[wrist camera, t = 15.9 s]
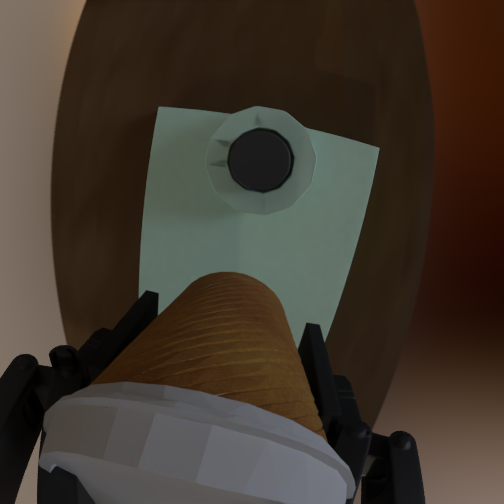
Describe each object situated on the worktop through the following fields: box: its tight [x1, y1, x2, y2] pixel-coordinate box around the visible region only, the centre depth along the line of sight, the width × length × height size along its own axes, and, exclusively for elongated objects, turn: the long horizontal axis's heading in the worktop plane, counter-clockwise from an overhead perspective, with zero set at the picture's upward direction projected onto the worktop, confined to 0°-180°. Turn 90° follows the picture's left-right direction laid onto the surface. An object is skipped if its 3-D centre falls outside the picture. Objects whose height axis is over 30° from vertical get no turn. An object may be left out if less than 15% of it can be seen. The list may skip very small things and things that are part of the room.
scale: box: [139, 106, 379, 349], centre depth 19 cm, size 18×14×3 cm
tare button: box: [229, 131, 291, 190], centre depth 15 cm, size 3×3×2 cm
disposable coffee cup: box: [38, 272, 356, 504], centre depth 11 cm, size 10×10×12 cm
